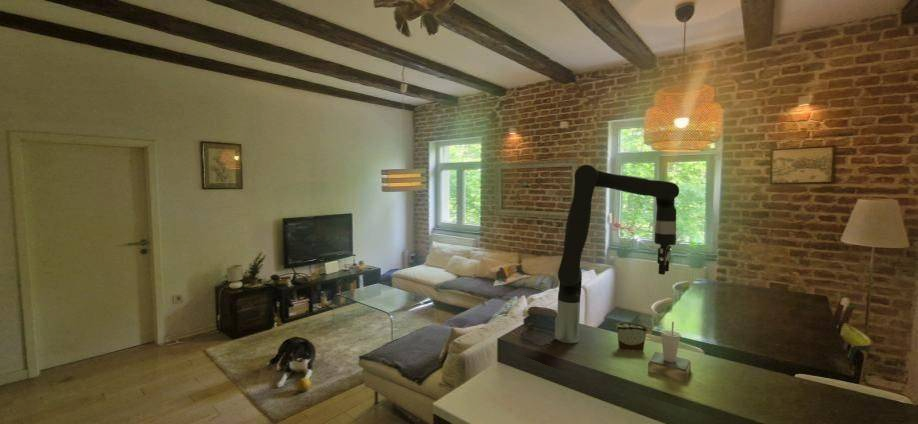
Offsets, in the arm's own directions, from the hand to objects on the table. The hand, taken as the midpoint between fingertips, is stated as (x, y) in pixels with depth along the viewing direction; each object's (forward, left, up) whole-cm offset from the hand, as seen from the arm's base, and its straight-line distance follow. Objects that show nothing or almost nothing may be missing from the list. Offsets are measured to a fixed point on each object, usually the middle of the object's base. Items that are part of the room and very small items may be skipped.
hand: (663, 272), depth 156 cm
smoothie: (+6, -18, -28) cm, 34 cm away
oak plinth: (+6, -18, -32) cm, 37 cm away
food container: (-11, -4, -32) cm, 34 cm away
